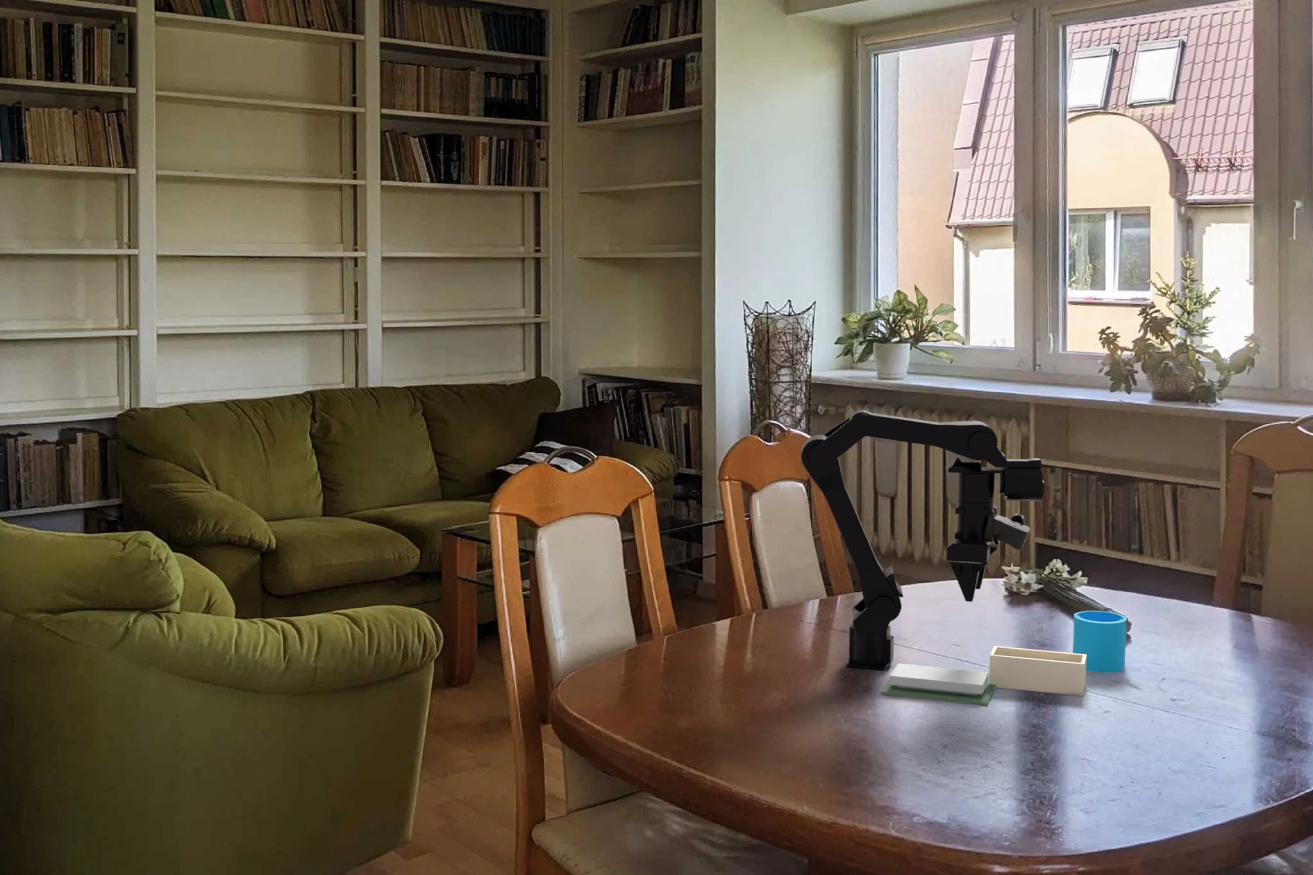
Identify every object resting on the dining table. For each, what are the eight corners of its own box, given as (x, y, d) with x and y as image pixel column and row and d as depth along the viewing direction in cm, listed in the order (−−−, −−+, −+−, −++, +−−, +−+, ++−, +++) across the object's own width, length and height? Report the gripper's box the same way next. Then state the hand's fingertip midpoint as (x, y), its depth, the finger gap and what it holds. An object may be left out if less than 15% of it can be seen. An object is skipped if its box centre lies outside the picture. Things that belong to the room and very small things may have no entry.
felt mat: (880, 694, 205) (880, 691, 205) (893, 676, 214) (893, 673, 214) (987, 705, 199) (987, 703, 199) (995, 686, 208) (995, 684, 208)
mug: (1111, 676, 214) (1113, 626, 213) (1063, 666, 220) (1065, 617, 219) (1142, 660, 223) (1144, 612, 222) (1095, 651, 228) (1097, 604, 227)
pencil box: (988, 686, 209) (989, 655, 208) (993, 676, 214) (994, 645, 213) (1083, 696, 204) (1084, 664, 203) (1085, 685, 209) (1086, 654, 208)
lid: (889, 689, 206) (889, 675, 206) (898, 676, 212) (898, 663, 212) (982, 699, 201) (982, 685, 201) (988, 686, 207) (988, 672, 207)
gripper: (1021, 512, 204) (1018, 612, 206) (1033, 494, 222) (1030, 586, 223) (947, 508, 208) (944, 606, 210) (964, 490, 226) (962, 581, 227)
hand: (973, 594), depth 218 cm, fingers open, 9 cm apart
